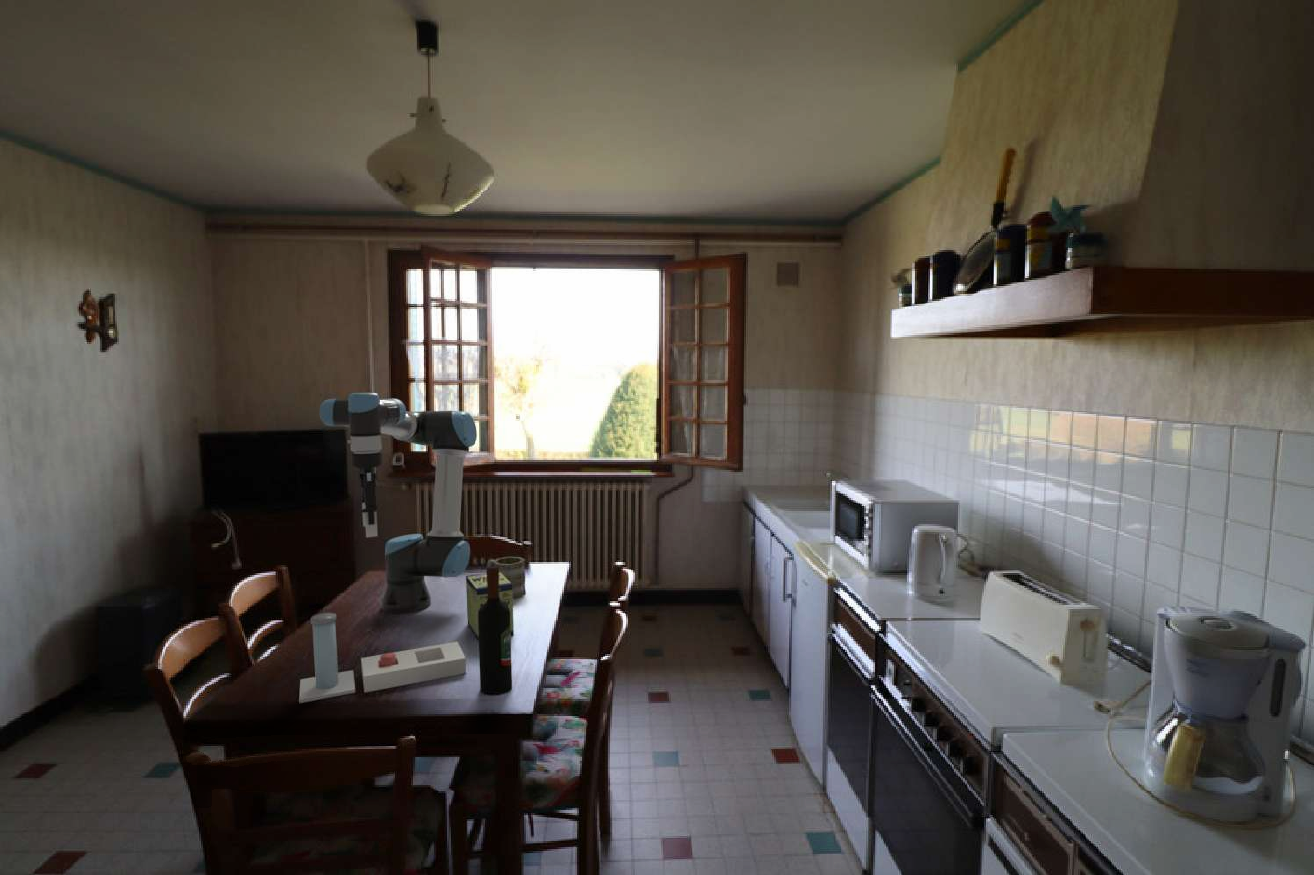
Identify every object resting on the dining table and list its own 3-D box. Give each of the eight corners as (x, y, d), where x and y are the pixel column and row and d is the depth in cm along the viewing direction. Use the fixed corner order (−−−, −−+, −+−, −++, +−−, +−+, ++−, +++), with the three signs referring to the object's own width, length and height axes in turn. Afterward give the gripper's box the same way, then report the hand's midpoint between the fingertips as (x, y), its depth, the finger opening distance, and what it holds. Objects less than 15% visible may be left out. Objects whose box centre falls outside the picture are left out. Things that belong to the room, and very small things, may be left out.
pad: (300, 682, 172) (300, 679, 172) (353, 673, 177) (353, 670, 177) (299, 703, 162) (299, 699, 161) (355, 692, 167) (355, 689, 167)
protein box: (478, 642, 197) (477, 589, 196) (466, 624, 211) (465, 575, 209) (514, 635, 202) (513, 583, 200) (500, 619, 216) (499, 570, 214)
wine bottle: (483, 682, 172) (479, 563, 169) (513, 680, 172) (510, 562, 170) (477, 696, 164) (473, 572, 161) (510, 694, 165) (506, 571, 162)
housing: (361, 673, 177) (361, 658, 177) (457, 655, 188) (457, 641, 187) (364, 692, 167) (363, 676, 166) (466, 673, 177) (465, 657, 177)
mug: (532, 593, 241) (531, 559, 239) (510, 601, 232) (509, 566, 230) (499, 585, 249) (498, 553, 248) (477, 594, 240) (476, 560, 239)
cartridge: (314, 681, 171) (311, 614, 169) (339, 677, 173) (336, 611, 171) (314, 691, 166) (310, 622, 164) (339, 686, 168) (336, 618, 166)
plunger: (380, 671, 175) (379, 654, 175) (395, 668, 177) (394, 651, 176) (381, 677, 172) (380, 659, 172) (397, 674, 174) (396, 657, 173)
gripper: (349, 447, 191) (352, 523, 193) (352, 457, 169) (356, 543, 171) (378, 446, 195) (381, 520, 197) (385, 456, 172) (389, 539, 174)
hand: (370, 531), depth 184 cm, fingers open, 13 cm apart
